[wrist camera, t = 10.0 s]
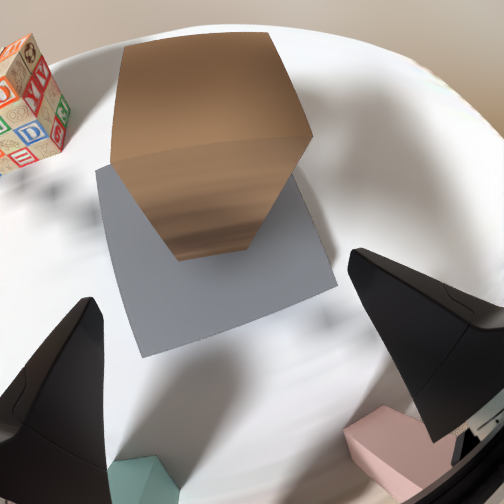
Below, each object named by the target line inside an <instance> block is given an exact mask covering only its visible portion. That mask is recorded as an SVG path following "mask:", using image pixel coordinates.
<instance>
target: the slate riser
mask: <svg viewBox="0 0 504 504" xmlns="http://www.w3.org/2000/svg"><path fill="white" fill-rule="evenodd" d="M95 172H96V181H97V188H98V195H99V201H100V207H101V213H102V219H103V224H104V229H105V234H106V239H107V244H108V248H109V252H110V257H111V261H112V265H113V269H114V273H115V276H116V280H117V284H118V287H119V291H120V294H121V298H122V301H123V304H124V307H125V311H126V314H127V317H128V320H129V323H130V326H131V329H132V331H133V334H134V337H135V340H136V343H137V345H138V348H139V351H140V353H141V356H142V358H145V357H148V356H151V355H155V354H158V353H161V352H165V351H168V350H171V349H174V348H177V347H180V346H183V345H186V344H189V343H193V342H195V341H198V340H201V339H204V338H207V337H210V336H213V335H216V334H219V333H222V332H224V331H227V330H230V329H233V328H235V327H238V326H241V325H244V324H246V323H249V322H251V321H254V320H257V319H259V318H262V317H264V316H267V315H270V314H272V313H275V312H277V311H280V310H282V309H285V308H287V307H290V306H292V305H294V304H297V303H299V302H302V301H304V300H306V299H309V298H311V297H313V296H316V295H318V294H320V293H323V292H325V291H327V290H329V289H332V288H334V287H336V286H338V284H337V282H336V279H335V276H334V274H333V271H332V268H331V266H330V263H329V261H328V258H327V255H326V253H325V250H324V248H323V245H322V243H321V240H320V238H319V235H318V233H317V231H316V228H315V226H314V223H313V221H312V219H311V216H310V214H309V212H308V209H307V207H306V205H305V202H304V200H303V198H302V196H301V193H300V191H299V189H298V187H297V184H296V182H295V180H294V178H293V176H292V173H291V175H290V177H289V178H288V180H287V182H286V183H285V185H284V187H283V189H282V190H281V192H280V194H279V195H278V197H277V199H276V200H275V202H274V204H273V206H272V207H271V209H270V211H269V212H268V214H267V216H266V218H265V219H264V221H263V223H262V225H261V226H260V228H259V230H258V231H257V233H256V235H255V237H254V238H253V240H252V242H251V243H250V245H249V247H248V249H247V250H242V251H236V252H231V253H225V254H219V255H213V256H207V257H202V258H196V259H190V260H184V261H178V260H177V259H176V258H175V256H174V255H173V254H172V252H171V251H170V249H169V248H168V247H167V245H166V244H165V243H164V241H163V240H162V238H161V237H160V236H159V234H158V233H157V232H156V230H155V229H154V227H153V226H152V224H151V223H150V222H149V220H148V219H147V217H146V216H145V214H144V213H143V212H142V210H141V209H140V207H139V206H138V204H137V203H136V201H135V200H134V198H133V197H132V195H131V194H130V192H129V191H128V189H127V188H126V186H125V185H124V183H123V182H122V180H121V179H120V177H119V176H118V174H117V173H116V171H115V169H114V168H113V166H112V165H111V164H110V165H107V166H105V167H103V168H100V169H98V170H95Z"/></svg>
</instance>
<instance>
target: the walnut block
mask: <svg viewBox="0 0 504 504" xmlns="http://www.w3.org/2000/svg"><path fill="white" fill-rule="evenodd" d="M312 137H313V134H312V132H311V129H310V126H309V124H308V121H307V119H306V116H305V113H304V111H303V108H302V106H301V104H300V101H299V99H298V96H297V94H296V92H295V89H294V87H293V85H292V82H291V80H290V78H289V75H288V73H287V71H286V69H285V67H284V64H283V62H282V60H281V58H280V56H279V54H278V52H277V50H276V48H275V46H274V44H273V42H272V40H271V38H270V36H269V34H268V33H267V32H226V33H209V34H197V35H188V36H180V37H172V38H166V39H160V40H154V41H149V42H144V43H140V44H135V45H131V46H127V47H125V48H124V52H123V57H122V62H121V67H120V73H119V79H118V85H117V92H116V99H115V107H114V116H113V126H112V138H111V155H110V163H111V165H112V166H113V168H114V169H115V171H116V173H117V174H118V176H119V177H120V179H121V180H122V182H123V183H124V185H125V186H126V188H127V189H128V191H129V192H130V194H131V195H132V197H133V198H134V200H135V201H136V203H137V204H138V206H139V207H140V209H141V210H142V212H143V213H144V214H145V216H146V217H147V219H148V220H149V222H150V223H151V224H152V226H153V227H154V229H155V230H156V232H157V233H158V234H159V236H160V237H161V238H162V240H163V241H164V243H165V244H166V245H167V247H168V248H169V249H170V251H171V252H172V254H173V255H174V256H175V258H176V259H177V260H178V261H184V260H190V259H196V258H202V257H207V256H213V255H219V254H225V253H231V252H236V251H242V250H247V249H248V247H249V245H250V243H251V242H252V240H253V238H254V237H255V235H256V233H257V231H258V230H259V228H260V226H261V225H262V223H263V221H264V219H265V218H266V216H267V214H268V212H269V211H270V209H271V207H272V206H273V204H274V202H275V200H276V199H277V197H278V195H279V194H280V192H281V190H282V189H283V187H284V185H285V183H286V182H287V180H288V178H289V177H290V175H291V173H292V171H293V170H294V168H295V166H296V165H297V163H298V161H299V160H300V158H301V156H302V154H303V153H304V151H305V149H306V148H307V146H308V144H309V143H310V141H311V139H312Z"/></svg>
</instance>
